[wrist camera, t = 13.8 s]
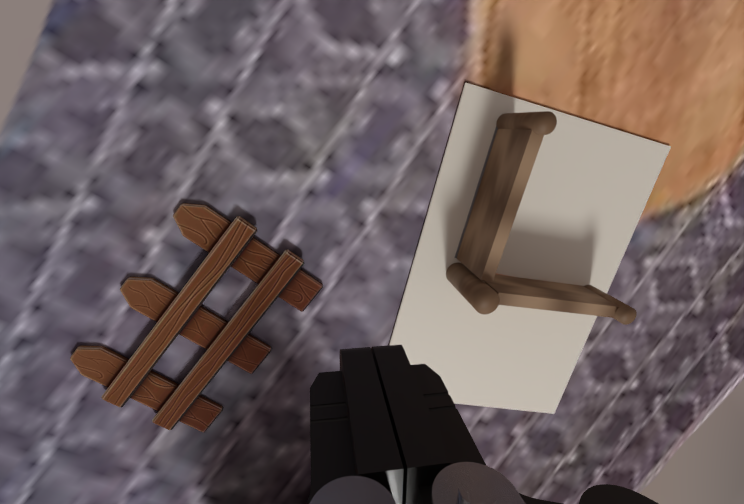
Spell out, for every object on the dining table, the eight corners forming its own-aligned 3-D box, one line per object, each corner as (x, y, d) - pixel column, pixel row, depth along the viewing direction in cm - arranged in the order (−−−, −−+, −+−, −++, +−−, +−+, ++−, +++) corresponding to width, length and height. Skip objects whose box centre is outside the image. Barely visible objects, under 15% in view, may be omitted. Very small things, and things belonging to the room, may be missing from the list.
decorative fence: (329, 274, 40) (198, 183, 36) (330, 280, 39) (192, 185, 34) (201, 432, 44) (64, 367, 39) (197, 444, 42) (53, 378, 37)
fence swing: (470, 284, 42) (497, 310, 36) (474, 268, 41) (503, 292, 36) (589, 299, 45) (632, 325, 39) (595, 284, 45) (639, 308, 39)
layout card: (464, 82, 36) (466, 82, 36) (669, 146, 42) (671, 146, 41) (374, 393, 45) (375, 395, 45) (553, 412, 51) (554, 414, 50)
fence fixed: (496, 110, 37) (540, 107, 30) (518, 116, 38) (567, 115, 31) (442, 280, 42) (470, 312, 35) (462, 284, 43) (494, 316, 36)
